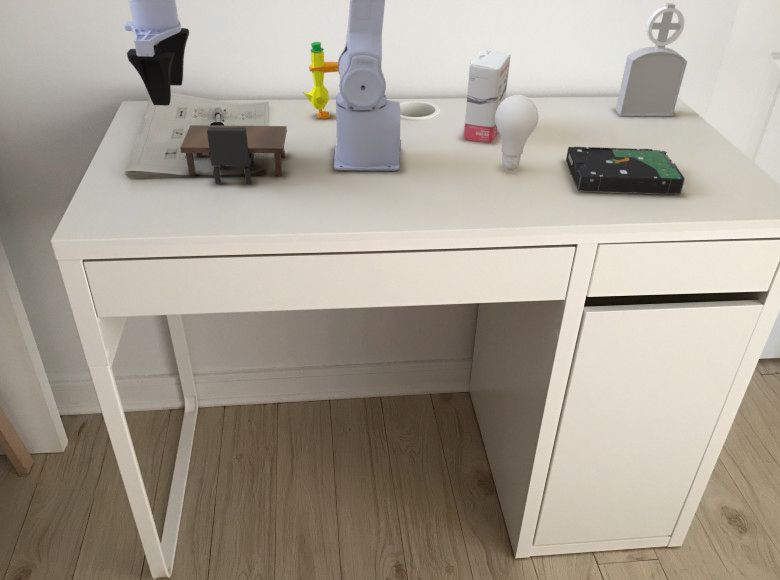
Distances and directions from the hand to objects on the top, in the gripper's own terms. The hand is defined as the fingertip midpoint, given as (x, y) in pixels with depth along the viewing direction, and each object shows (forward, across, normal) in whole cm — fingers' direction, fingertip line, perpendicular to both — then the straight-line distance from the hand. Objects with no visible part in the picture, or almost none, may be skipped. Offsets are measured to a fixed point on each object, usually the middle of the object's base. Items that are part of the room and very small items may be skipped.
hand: (168, 94), depth 99 cm
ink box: (+10, -13, +46) cm, 49 cm away
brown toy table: (+10, +1, +9) cm, 13 cm away
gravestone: (+10, -23, +76) cm, 80 cm away
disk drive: (+10, +3, +65) cm, 66 cm away
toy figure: (+10, -19, +20) cm, 29 cm away
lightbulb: (+10, 0, +49) cm, 50 cm away
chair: (+10, +4, +9) cm, 14 cm away
